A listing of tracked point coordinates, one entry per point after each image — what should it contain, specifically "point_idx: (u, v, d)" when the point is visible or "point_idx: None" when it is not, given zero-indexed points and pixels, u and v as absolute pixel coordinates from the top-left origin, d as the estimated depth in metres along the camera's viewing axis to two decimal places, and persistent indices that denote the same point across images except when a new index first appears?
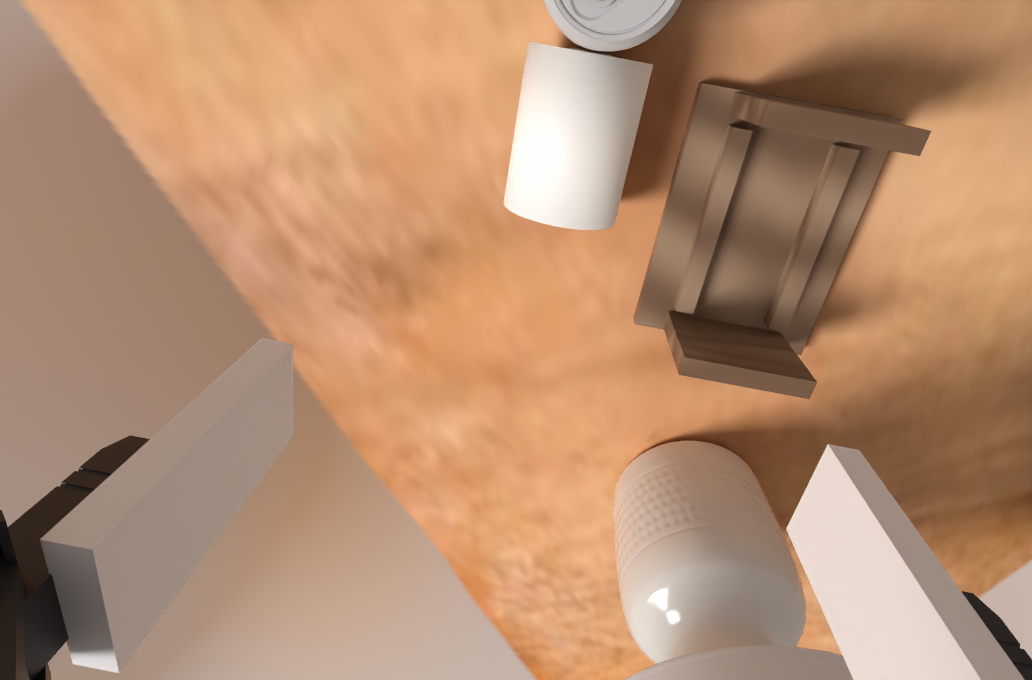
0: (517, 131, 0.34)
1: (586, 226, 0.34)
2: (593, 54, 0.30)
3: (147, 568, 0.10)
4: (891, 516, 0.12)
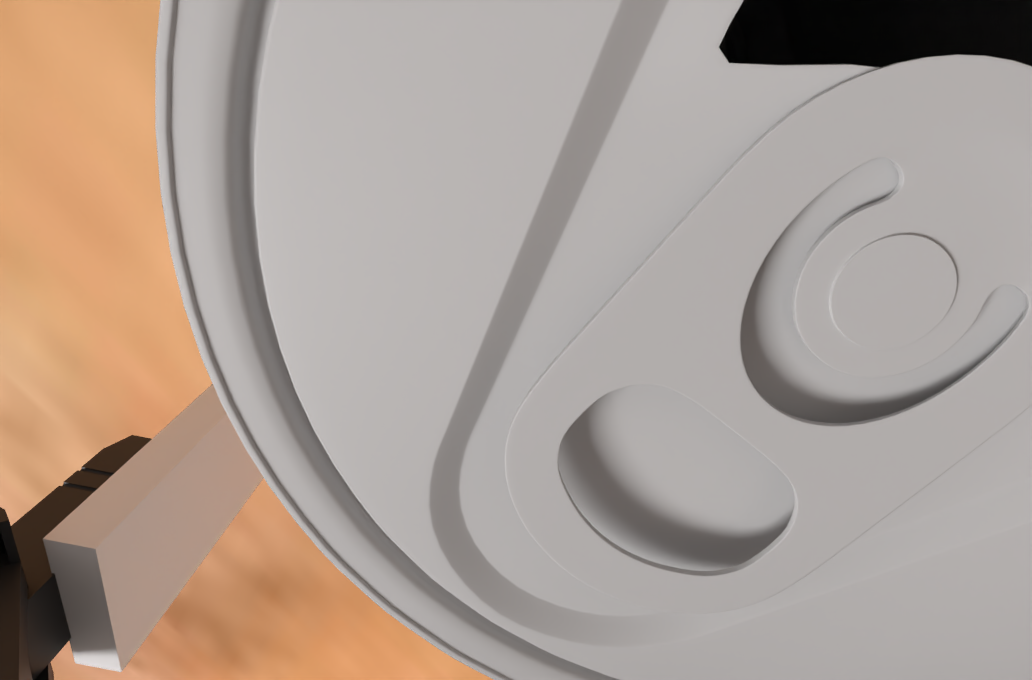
0: None
1: None
2: None
3: (149, 567, 0.10)
4: None
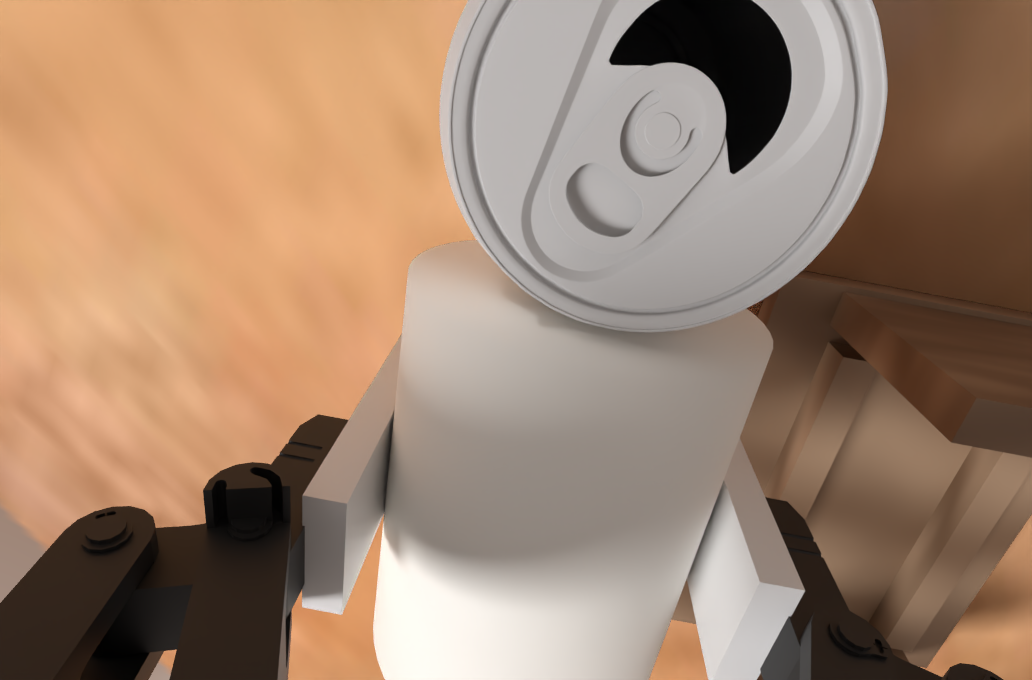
0: (388, 488, 0.12)
1: None
2: (597, 372, 0.08)
3: (361, 525, 0.11)
4: None
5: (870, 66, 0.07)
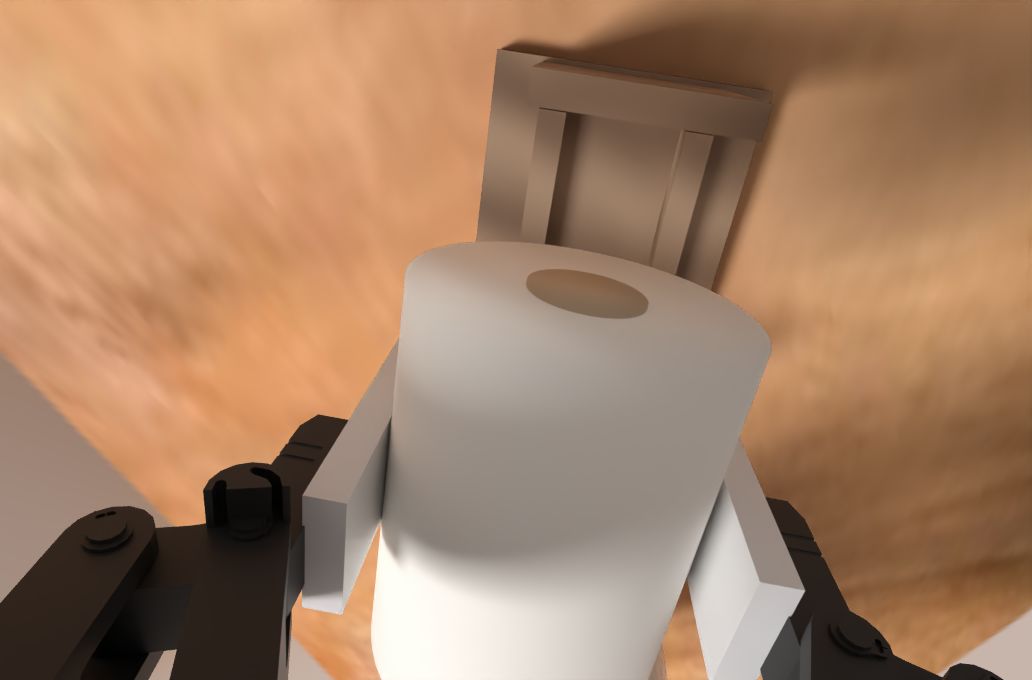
0: (386, 491, 0.12)
1: None
2: (595, 376, 0.08)
3: (361, 525, 0.11)
4: None
5: None
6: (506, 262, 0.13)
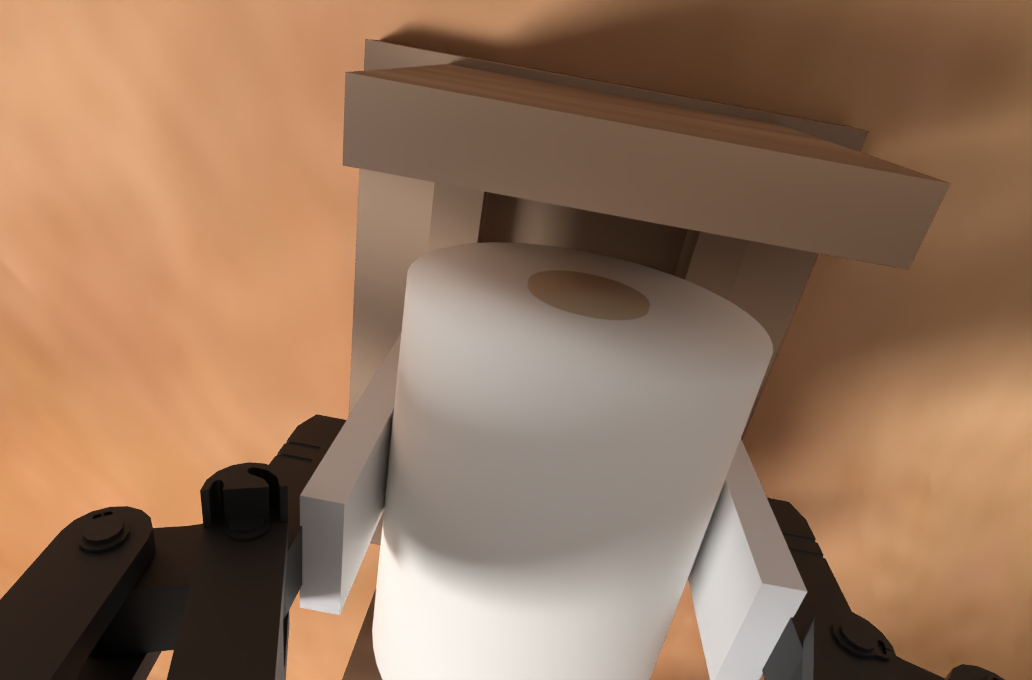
0: (387, 492, 0.12)
1: None
2: (596, 377, 0.08)
3: (359, 526, 0.11)
4: None
5: None
6: (507, 263, 0.13)
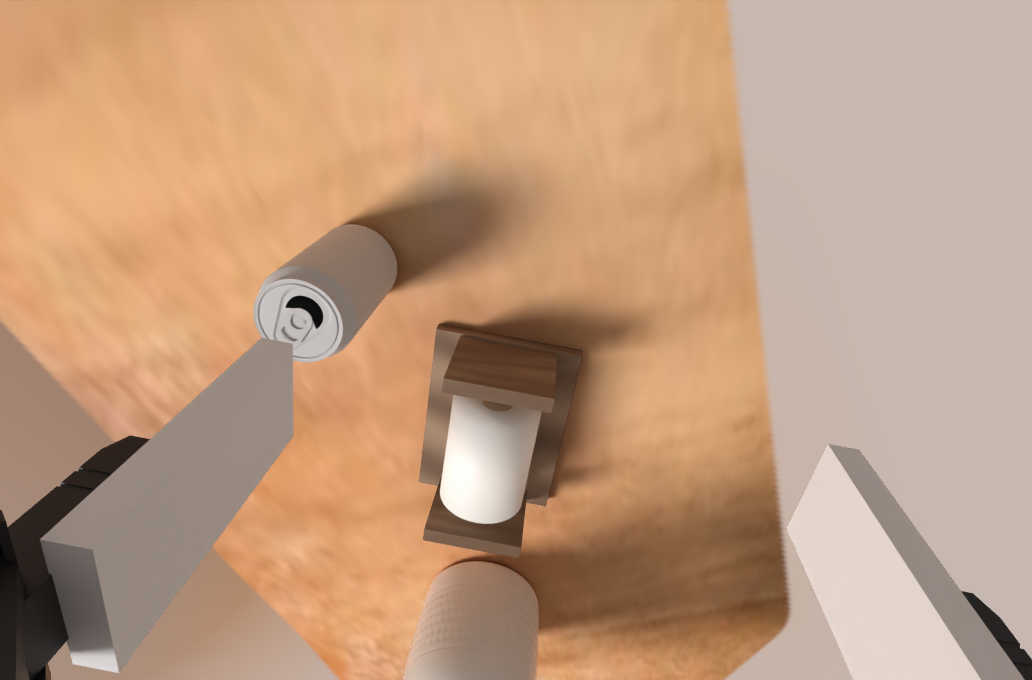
0: (446, 452, 0.47)
1: (494, 521, 0.47)
2: (491, 427, 0.43)
3: (147, 568, 0.10)
4: (891, 516, 0.12)
5: (335, 310, 0.36)
6: None
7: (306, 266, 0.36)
